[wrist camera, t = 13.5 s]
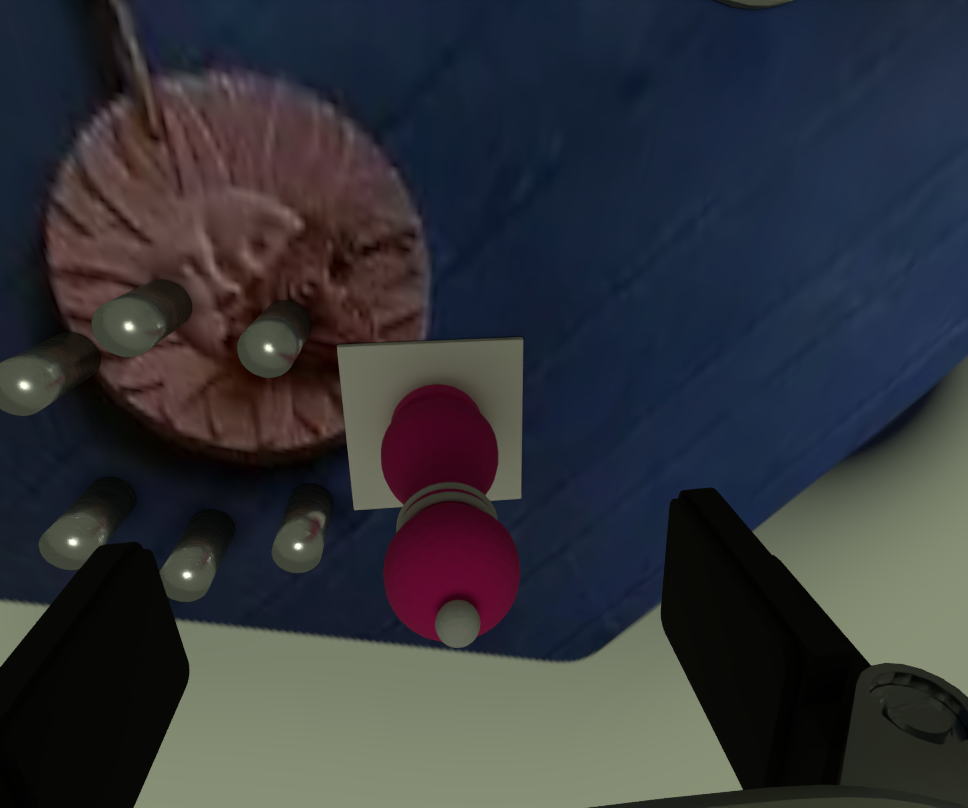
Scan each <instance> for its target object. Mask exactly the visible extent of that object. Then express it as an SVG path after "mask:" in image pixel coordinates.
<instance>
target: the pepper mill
mask: <svg viewBox="0 0 968 808" xmlns="http://www.w3.org/2000/svg"><path fill="white" fill-rule="evenodd" d="M381 467H382V471H383V475H384V478H385V480H386V482H387V484H388V486H389V488H390V490H391V492H392V493H393V494H394V496H395V497H396V498H397V499H398V500H399V501H400V502H401V503H402V504H403V505H404V506H403V507H402V509H401V511H400V513H399V516H398V519H397V526H396V534H395V536H394V537H393V539H392V540H391V542H390V544H389V547H388V550H387V553H386V556H385V564H384V573H383V575H384V583H385V590H386V595H387V598H388V600H389V602H390V605H391V607H392V608H393V610H394V612H395V613H396V615H397V616H398V618H399V619H400V620H401V621H402V622H403V623H404V624H405V625H406V626H408V627H409V628H410V629H411V630H413V631H414V632H416V633H417V634H419V635H421V636H423V637H426V638H428V639H432V640H437V641H442V642H443V643H445V644H446V645H448V646H450V647H454V648H459V647H465V646H467V645H469V644H470V643H471V642H473V641H474V640H475V638H476V637H477V636H480V635H482V634H483V633H485V632H487V631H488V630H490V629H491V628H493V627H494V626H495V625H496V624H498V623H499V622H500V621H501V620H502V618H503V617H504V616H505V615H506V613H507V612H508V611H509V610H510V608H511V606H512V604H513V602H514V600H515V598H516V594H517V591H518V587H519V581H520V566H519V557H518V552H517V549H516V546H515V544H514V542H513V540H512V538H511V536H510V534H509V532H508V531H507V530H506V529H505V527H504V526H503V525H502V524H501V523H500V522H499V521H498V519H497V514H496V511H495V508H494V506H493V505H492V503H491V501H490V500H489V499H488V498H487V497H486V496H485V495H486V494H487V492H488V491H489V490H490V488H491V486H492V484H493V482H494V479H495V476H496V472H497V468H498V446H497V440H496V436H495V433H494V431H493V429H492V427H491V425H490V424H489V422H488V421H487V420H486V418H485V417H484V416H483V415H482V414H481V413H480V410H479V408H478V406H477V405H476V403H475V402H474V401H473V400H472V399H471V397H470V396H468V395H467V394H466V393H465V392H463V391H461V390H459V389H457V388H455V387H452V386H448V385H441V384H435V385H427V386H423V387H420V388H418V389H416V390H414V391H412V392H410V393H409V394H408V395H406V396H405V397H404V398H403V399H402V400H401V401H400V403H399V404H398V405H397V407H396V408H395V410H394V413H393V416H392V419H391V424H390V425H389V426H388V428H387V430H386V432H385V435H384V437H383V440H382V445H381Z"/></svg>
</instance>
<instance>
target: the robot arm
mask: <svg viewBox="0 0 968 808" xmlns="http://www.w3.org/2000/svg"><path fill="white" fill-rule="evenodd" d="M717 1H719V2H722V3H724V4H727V5H729V6H732V7H737V8H745V9H752V10H753V9H763V8H773V7H776V6H779V5H782V4H785V3H788V2H791V1H794V0H717ZM661 621H662V625H663V629H664V631H665V634H666V636H667V638H668V640H669V642H670V644H671V646H672V648H673V650H674V652H675V654H676V656H677V658H678V660H679V662H680V664H681V666H682V668H683V670H684V672H685V674H686V676H687V678H688V680H689V682H690V684H691V686H692V688H693V690H694V692H695V694H696V696H697V698H698V700H699V702H700V704H701V706H702V708H703V710H704V712H705V714H706V716H707V718H708V720H709V722H710V724H711V726H712V728H713V730H714V732H715V734H716V736H717V738H718V740H719V742H720V744H721V746H722V748H723V750H724V752H725V754H726V756H727V758H728V760H729V762H730V764H731V766H732V768H733V770H734V772H735V774H736V776H737V778H738V780H739V782H740V784H741V786H742V788H743V790H740V791H731V792H720V793H711V794H701V795H692V796H682V797H673V798H664V799H655V800H647V801H639V802H631V803H623V804H615V805H606V806H598V807H590V808H968V697H967V696H966V695H964V694H963V693H962V692H961V691H960V690H959V689H958V688H956V687H955V686H953V685H951V684H950V683H948V682H947V681H945V680H944V679H942V678H940V677H938V676H935V675H933V674H931V673H929V672H926V671H924V670H922V669H919V668H915V667H911V666H907V665H904V664H892V663H883V664H878V665H873V666H871V665H870V664H869V663H868V662H867V660H866V659H865V658H864V657H863V656H862V655H861V654H860V652H859V651H858V650H857V649H856V648H855V646H854V645H853V644H852V643H851V642H850V641H849V639H848V638H847V637H846V636H845V635H844V634H843V633H842V632H841V630H840V629H839V628H838V627H837V626H836V625H835V623H834V622H833V621H832V620H831V619H830V618H829V616H828V615H827V614H826V613H825V612H824V611H823V609H822V608H821V607H820V606H819V605H818V604H817V602H816V601H815V600H814V599H813V598H812V597H811V596H810V594H809V593H808V592H807V591H806V590H805V588H804V587H803V586H802V585H801V584H800V583H799V582H798V581H797V579H796V578H795V577H794V576H793V575H792V573H790V571H789V570H788V569H787V568H786V566H785V565H784V564H783V563H782V562H781V561H780V560H779V559H778V558H777V557H775V556H774V555H771V553H770V552H769V551H768V550H767V549H766V548H765V546H764V545H763V544H762V543H761V542H760V541H759V539H758V538H757V537H756V536H755V535H754V534H753V532H752V531H751V530H750V529H749V528H748V527H747V525H746V524H745V523H744V522H743V521H742V519H741V518H740V517H739V516H738V515H737V514H736V512H735V511H734V510H733V509H732V508H731V507H730V505H729V504H728V503H727V502H726V501H725V500H724V498H723V497H722V496H721V495H720V494H719V493H718V491H717V490H715V489H714V488H701V489H691V490H683V491H681V492H680V494H679V498H678V499H673V500H671V502H670V508H669V520H668V532H667V543H666V555H665V567H664V579H663V591H662V602H661ZM188 678H189V663H188V659H187V656H186V653H185V650H184V647H183V644H182V641H181V638H180V634H179V631H178V628H177V625H176V622H175V619H174V616H173V613H172V610H171V607H170V604H169V600H168V597H167V594H166V591H165V588H164V585H163V582H162V579H161V576H160V573H159V570H158V567H157V563H156V560H155V557H154V555H153V553H152V551H151V550H149V549H143V547H142V546H141V545H140V544H139V543H137V542H128V543H118V544H107V545H101V546H99V547H98V548H97V549H96V550H95V551H94V552H93V553H92V554H91V556H90V557H89V558H88V559H87V561H86V562H85V563H84V564H83V566H82V567H81V568H80V569H79V570H78V572H77V573H76V574H75V575H74V577H73V578H72V579H71V580H70V582H69V583H68V584H67V585H66V587H65V588H64V589H63V590H62V592H61V593H60V594H59V595H58V596H57V598H56V599H55V600H54V601H53V603H52V604H51V605H50V606H49V608H48V609H47V610H46V612H45V613H44V614H43V615H42V616H41V618H40V619H39V620H38V621H37V622H36V624H35V625H34V626H33V628H32V629H31V630H30V631H29V632H28V634H27V635H26V636H25V637H24V639H23V640H22V641H21V642H20V644H19V645H18V646H17V647H16V648H15V650H14V651H13V652H12V653H11V655H10V656H9V657H8V658H7V660H6V661H5V662H4V663H3V665H2V666H1V667H0V808H133V807H134V805H135V803H136V801H137V798H138V796H139V794H140V792H141V789H142V787H143V785H144V782H145V780H146V778H147V776H148V773H149V771H150V768H151V766H152V764H153V762H154V759H155V757H156V755H157V753H158V750H159V748H160V746H161V743H162V741H163V739H164V737H165V734H166V732H167V729H168V727H169V725H170V723H171V720H172V718H173V716H174V714H175V711H176V709H177V707H178V704H179V702H180V700H181V697H182V695H183V693H184V690H185V688H186V686H187V683H188Z"/></svg>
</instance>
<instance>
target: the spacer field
mask: <svg viewBox="0 0 968 808" xmlns="http://www.w3.org/2000/svg"><path fill="white" fill-rule="evenodd" d="M191 313H192V303H191V299H190V297H189V295H188V294H187V292H186V291H185V290H184V289H183V288H182V287H181V286H180V285H178V284H176V283H175V282H172V281H169V280H155V281H152V282H150V283H148V284H145V285H143V286H141V287H139V288H137V289H135V290H133V291H130V292H128V293H126V294H124V295H122V296H120V297H118V298H115V299H113V300H111V301H109V302H107V303H105V304H103V305H101V306H100V307H99V308H98V309H97V310H96V312H95V313H94V315H93V318H92V330H93V333H94V336H95V338H96V339H97V341H98V342H99V343H100V345H101V346H102V347H104V348H105V349H106V350H107V351H109V352H111V353H113V354H115V355H118V356H122V357H135V356H138V355H141V354H143V353H144V352H146V351H147V350H149V349H150V348H151V347H153V346H154V345H155V344H157V343H158V342H160V341H161V340H162V339H164V338H165V337H167V336H168V335H169V334H171V333H172V332H173V331H175V330H176V329H178V328H179V327H180V326H182V325H183V324H184V323H186V322H187V321H188V319H189V318H190V316H191ZM311 327H312V324H311V319H310V316H309V314H308V312H307V311H306V310H305V309H304V308H303V307H302V306H301V305H299V304H298V303H296V302H293V301H289V300H281V301H277V302H274V303H273V304H271V305H270V306H269V307H268V308H267V309H266V310H265V311H264V312H263V313H262V314H261V315H260V316H259V317H258V318H257V319H256V320H255V321H254V322H253V323H252V324H251V325H250V326H249V327H248V328H247V329H246V330H245V332H244V333H243V334H242V335H241V337H240V339H239V341H238V347H237V350H238V356H239V358H240V360H241V362H242V364H243V365H244V366H245V367H246V368H247V369H248V370H249V371H250V372H252V373H254V374H255V375H258V376H261V377H269V378H271V377H277V376H280V375H282V374H284V373H285V372H287V371H288V370H289V369H290V367H291V366H292V364H293V363H294V361H295V359H296V357H297V356H298V354H299V352H300V350H301V349H302V347H303V345H304V343H305V342H306V340H307V338H308V336H309V335H310V332H311ZM100 363H101V357H100V353H99V350H98V348H97V347H96V345H95V344H94V343H93V342H92V341H91V340H90V339H88V338H87V337H85V336H83V335H81V334H78V333H73V332H65V333H61V334H58V335H56V336H54V337H52V338H50V339H48V340H46V341H44V342H42V343H40V344H38V345H36V346H34V347H32V348H30V349H28V350H26V351H24V352H22V353H20V354H18V355H16V356H14V357H12V358H10V359H8V360H5V361H3V362H1V363H0V409H2V410H3V411H5V412H8V413H10V414H14V415H20V416H26V415H32V414H35V413H37V412H39V411H40V410H42V409H43V408H45V407H46V406H47V405H49V404H50V403H52V402H53V401H55V400H56V399H58V398H59V397H61V396H62V395H64V394H65V393H67V392H68V391H70V390H71V389H73V388H74V387H76V386H77V385H79V384H80V383H82V382H83V381H85V380H86V379H87V378H89V377H90V376H92V375H93V374H95V373H96V372H97V370H98V369H99V367H100ZM136 502H137V496H136V493H135V491H134V489H133V488H132V487H131V486H130V485H129V484H128V483H127V482H125V481H123V480H121V479H118V478H114V477H105V478H101V479H99V480H97V481H95V482H94V483H93V484H92V485H91V486H90V487H89V488H88V489H87V490H86V491H85V492H84V493H83V494H82V495H81V496H80V497H79V498H78V499H77V500H76V501H75V502H74V504H73V505H72V506H71V507H70V508H69V509H68V510H67V511H66V512H65V513H64V514H63V515H62V516H61V517H60V518H59V519H58V520H57V521H56V522H55V523H54V524H53V525H52V526H51V527H50V528H49V529H48V530H47V531H46V532H45V533H44V534H43V535H42V537H41V539H40V541H39V549H40V552H41V554H42V556H43V557H44V558H45V559H46V560H47V561H48V562H49V563H50V564H52V565H54V566H56V567H58V568H61V569H66V570H76V569H80V568H81V567H82V566H83V564H84V563H85V562H86V561H87V559H88V558H89V557H90V556H91V554H92V553H93V552H94V551H95V550H96V549H97V548H98V547H99V546H101V545H105V544H106V543H107V541H108V540H109V539H110V537H111V536H112V535H113V534H114V532H115V531H116V530H117V529H118V527H119V526H120V525H121V524H122V522H123V521H124V520H125V519H126V517H127V516H128V515H129V514H130V512H131V511H132V510H133V508H134V507H135V505H136ZM332 506H333V500H332V496H331V495H330V493H329V492H328V491H327V490H326V489H325V488H323V487H321V486H319V485H315V484H305V485H302V486H300V487H298V488H296V489H295V490H294V491H293V492H292V494H291V496H290V499H289V502H288V505H287V507H286V510H285V513H284V516H283V519H282V522H281V524H280V527H279V530H278V533H277V536H276V539H275V541H274V544H273V547H272V557H273V559H274V561H275V563H276V564H277V565H278V566H279V567H280V568H282V569H284V570H286V571H288V572H293V573H302V572H307V571H309V570H311V569H313V568H314V567H315V566H317V564H318V563H319V562H320V559H321V556H322V552H323V547H324V543H325V538H326V534H327V529H328V525H329V520H330V516H331V511H332ZM234 532H235V526H234V523H233V521H232V519H231V518H230V517H229V516H228V515H227V514H225V513H223V512H221V511H218V510H212V509H211V510H203V511H201V512H199V513H197V514H196V515H195V516H194V517H193V518H192V520H191V522H190V523H189V525H188V527H187V528H186V530H185V531H184V533H183V535H182V536H181V538H180V540H179V541H178V543H177V545H176V546H175V548H174V550H173V551H172V553H171V555H170V556H169V558H168V560H167V561H166V563H165V564H164V566H163V568H162V569H161V571H160V576H161V579H162V582H163V585H164V588H165V591H166V594H167V596H168V597H169V598H171V599H174V600H177V601H181V602H190V601H195V600H197V599H199V598H201V597H202V596H204V595H205V594H206V592H207V591H208V589H209V586H210V584H211V582H212V580H213V578H214V576H215V574H216V572H217V569H218V567H219V565H220V563H221V561H222V559H223V557H224V554H225V552H226V550H227V548H228V546H229V544H230V542H231V540H232V537H233V535H234Z"/></svg>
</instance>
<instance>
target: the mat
mask: <svg viewBox="0 0 968 808" xmlns="http://www.w3.org/2000/svg"><path fill="white" fill-rule="evenodd" d="M337 353H338V362H339V372H340V381H341V391H342V400H343V410H344V419H345V429H346V438H347V448H348V457H349V467H350V476H351V486H352V495H353V505H354V510H363V509H378V508H392V507H403V506H404V505H403V504H402V503H401V502H400V501H399V500H398V499H397V498H396V497H395V496H394V494H393V493H392V492H391V490H390V488H389V486H388V484H387V482H386V480H385V478H384V475H383V471H382V467H381V445H382V440H383V437H384V435H385V432H386V430H387V428H388V426H389V425H390V424H391V419H392V416H393V413H394V410H395V408H396V407H397V405H398V404H399V403H400V401H401V400H402V399H403V398H404V397H405V396H406V395H408V394H409V393H410V392H412V391H414V390H416V389H418V388H420V387H423V386H427V385H435V384H441V385H448V386H452V387H455V388H457V389H459V390H461V391H463V392H465V393H466V394H467V395H468V396H470V397H471V399H472V400H473V401H474V402H475V403H476V405H477V406H478V408H479V410H480V413H481V414H482V415H483V416H484V417H485V418H486V420H487V421H488V422H489V424H490V425H491V427H492V429H493V431H494V433H495V436H496V440H497V446H498V468H497V472H496V476H495V479H494V482H493V484H492V486H491V488H490V490H489V491H488V492H487V494H486V495H485V496H486V497H487V498H488V499H489V500H490V501H493V500H507V499H521V465H522V391H523V338H522V337H509V338H485V339H461V340H438V341H414V342H390V343H366V344H342V345H338V346H337Z"/></svg>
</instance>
